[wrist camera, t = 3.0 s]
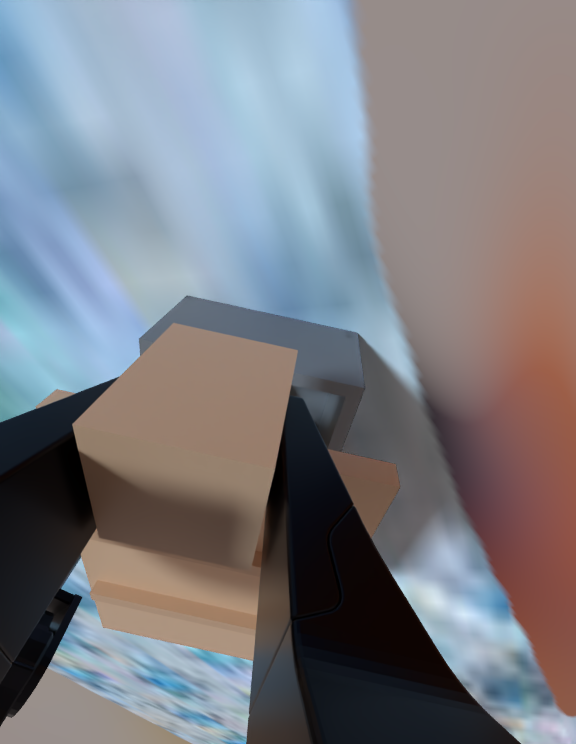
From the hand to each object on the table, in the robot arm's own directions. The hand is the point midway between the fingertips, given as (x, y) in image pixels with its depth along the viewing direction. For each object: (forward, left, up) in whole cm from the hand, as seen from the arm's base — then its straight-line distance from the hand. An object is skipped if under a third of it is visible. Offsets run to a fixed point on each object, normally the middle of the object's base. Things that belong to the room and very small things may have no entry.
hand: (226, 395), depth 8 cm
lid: (-7, 0, 0) cm, 7 cm away
